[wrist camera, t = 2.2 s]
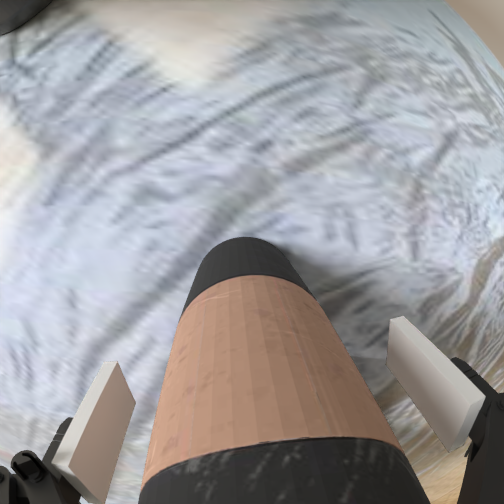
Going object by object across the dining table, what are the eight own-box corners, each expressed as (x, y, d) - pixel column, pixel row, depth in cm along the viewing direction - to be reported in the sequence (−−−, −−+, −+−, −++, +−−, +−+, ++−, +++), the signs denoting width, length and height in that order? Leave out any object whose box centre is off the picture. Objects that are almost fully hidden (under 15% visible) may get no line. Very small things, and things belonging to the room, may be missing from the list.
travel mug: (288, 224, 22) (498, 464, 3) (299, 317, 24) (404, 562, 5) (182, 242, 22) (51, 530, 2) (205, 334, 24) (187, 597, 5)
